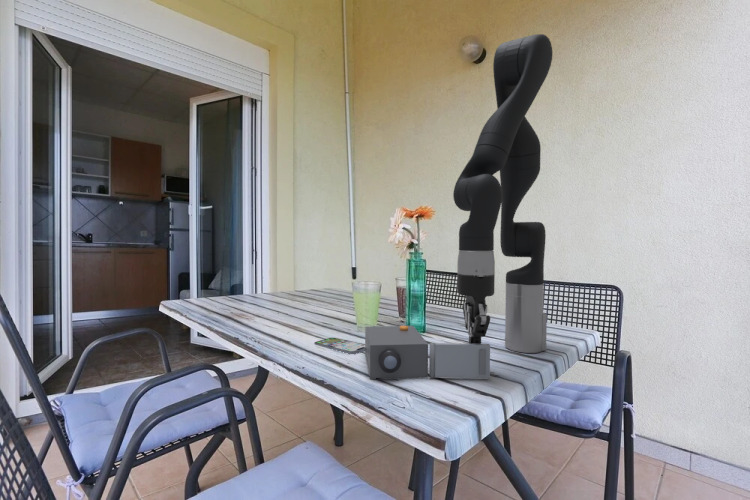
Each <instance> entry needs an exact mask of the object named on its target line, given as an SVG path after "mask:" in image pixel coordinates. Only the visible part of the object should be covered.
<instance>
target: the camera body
mask: <svg viewBox="0 0 750 500" xmlns="http://www.w3.org/2000/svg"><path fill="white" fill-rule="evenodd" d="M364 329H365V331H364V335H365V336H364V337H365V342H364V344H365V351H364V355H365V360H366V366H367V372H368V376H370V377H369V380H377V379H376V378H400V379H420V378H419V377H428V378H429V343H428V342H427V341H426V339H424V337H423V336H422V334H421V333H420V332H419V331H418V330H417V328H416V327H415V326H414V325H391V326H390V325H384V326H381V325H380V326H379V325H377V326H365V328H364Z"/></svg>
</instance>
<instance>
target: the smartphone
mask: <svg viewBox="0 0 750 500" xmlns="http://www.w3.org/2000/svg"><path fill="white" fill-rule="evenodd" d="M314 345H315V346H320V347H323V348H325V349H329V350H332V349H333V351H336V350H337V351H336V352H339V351H341V353H343V352H344V353H343V354H346V353H348V354H347V355H350V354H354V355H357V354H360V353H363V352H365V343H362V342H361V343H360V342H358V341H352V340H348V339H342V338H338V337H328V338H325V339H321V340H317V341H314ZM362 351H363V352H362ZM359 352H360V353H359ZM356 353H357V354H356Z"/></svg>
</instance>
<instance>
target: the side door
mask: <svg viewBox="0 0 750 500" xmlns="http://www.w3.org/2000/svg"><path fill="white" fill-rule="evenodd" d="M490 371H491V345H490V343H481V344H469V343H461V342H460V343H459V342H458V343H455V342H453V343H452V342H450V343H449V342H447V343H446V342H444V343H443V342H430V343H429V357H428V378H432V379H433V378H440V379H441V378H442V379H444V378H447V379H480V380H481V379H482V380H484V379H486V380H487V379H488V380H489V379H491V377H490V376H491V372H490Z"/></svg>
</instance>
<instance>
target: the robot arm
mask: <svg viewBox="0 0 750 500" xmlns="http://www.w3.org/2000/svg"><path fill="white" fill-rule="evenodd" d="M552 61H553V47H552V41H551V40H550V38H549V37H548V36H547V35H546V34H543V33H541V34H540V33H537V34H531V35H528V36H524V37H520V38H517V39H514V40H513V39H512V40H509V41H508V40H507V41H504V42H502V43H501V44H500V45H498V46H497V48H496V49H495V52H494V56H493V68H492V70H493V83H494V91H495V98H496V107H497V109H496V110H495V111H494V113H492V115H491V116H489V118H488V119H487V121H486V122H485V124H484V125H483V127H482V128H481V129H482V130H481V132H480V134H479V135H478V136H479V137H478V139H477V142H476V144H475V147H474V150H473V152H472V153H473V154H472V156H471V157H470V159H469V160H468V162H467V163H466V165H465V166H464V168H463V170H462V171H461V173H460V175H459V177H458V178H457V180H456V183H455V185H454V187H453V195H452V196H453V201H454V204H455V206H456V207H457V208H458V209H459V210H462V211H464V212H469V216H468V219H467V221H466V222H464V223H462V224H461V225H460V226H459V231H458V256H457V265H456V267H457V279H456V281H457V283H456V284H457V285H456V286H457V287H456V288H457V289H456V291H457V293H458V295H460V296H465V302H463V304H462V306H461V307H462V308H461V309H462V312H463V319H464V326H465V329H466V331H467V335H468V344H482V338H483V337H486V335H487V332H488V328H489V326H490V322H491V316H490V315H489V314H488V304H487V303H486V297H491V296H494V294H495V276H496V275H495V271H496V269H495V266H496V262H495V261H496V260H495V254H494V253H495V252H494V248H495V247H494V244H495V241H494V240H495V237H494V234H495V233H494V231H495V227H496V225H497V221H498V217H499V214H500V250H501V254H503V256H504V257H507V258H508V257H511V258H530V261H529V262H528V263H527V264H525V265H524V266H522V267H519V268H518V267H517V268H515V269H512V270H509V271H507V272H506V274H505V316H504V317H505V319H504V325H505V326H504V346H505V349H508V350H511V351H513V352H517V353H518V352H519V353H525V354H528V353H529V354H536V353H541V352H543V351H547V331H548V330H547V329H548V327H547V325H548V324H547V322H548V319H547V318H548V315H547V313H545V312H544V300H545V299H544V294H545V293H544V292H545V291H544V289H545V288H544V287H545V285H544V283H545V282H544V281H545V280H544V279H545V275H544V272H545V271H544V266H545V265H544V264H545V262H544V261H545V251H546V227H545V225H544V224H543V223H542V222H540V221H522V222H521V221H516V222H515V221H514V218H515V215H516V212H517V210H518V208H519V206H520V204H521V202H522V201H523V200H524V198H525V196H526V195H527V193H528V192H529V190H531V188H532V186H533V185H534V184H535V182H536V180H537V178H538V176H539V174H540V171H541V149H542V148H541V142H540V139H539V136H538V134H537V133H536V131H535V130H534V129H535V128H533V127H532V125H531V124H530V122H529V120H528V119H527V117H526V115H527V113H528V112H529V110H530V108H531V106H532V105H533V103H534V101H535V99H536V98H537V95H538V93H539V91H540V90H541V88H542V86H543V84H544V82H545V80H546V78H547V76H548V74H549V72H550V69H551V66H552ZM498 172H499V177H500V181H499V179H498V178H497V177H496V176H494V175H495V174H497V173H498ZM487 314H488V315H487Z"/></svg>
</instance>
